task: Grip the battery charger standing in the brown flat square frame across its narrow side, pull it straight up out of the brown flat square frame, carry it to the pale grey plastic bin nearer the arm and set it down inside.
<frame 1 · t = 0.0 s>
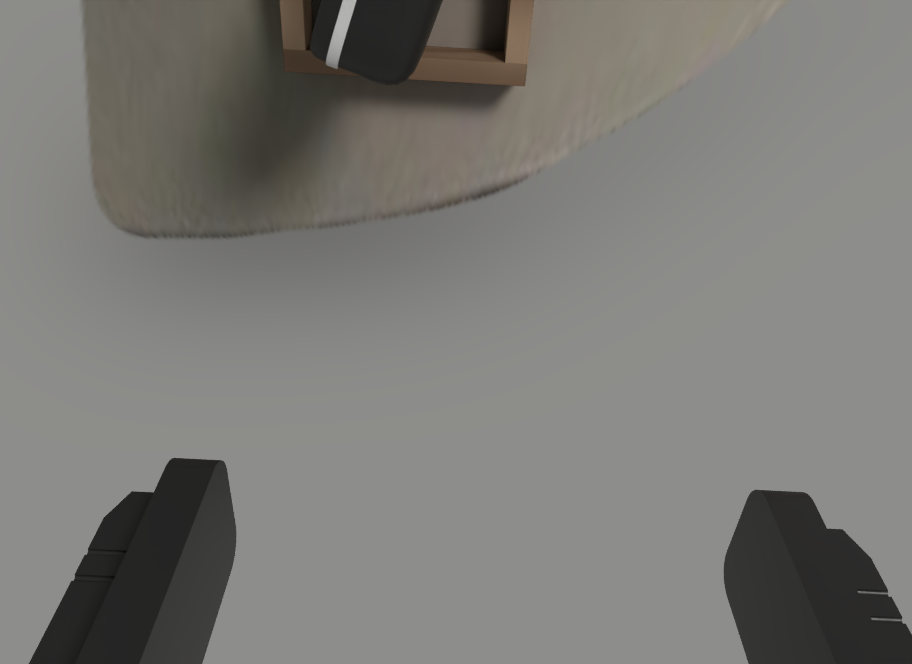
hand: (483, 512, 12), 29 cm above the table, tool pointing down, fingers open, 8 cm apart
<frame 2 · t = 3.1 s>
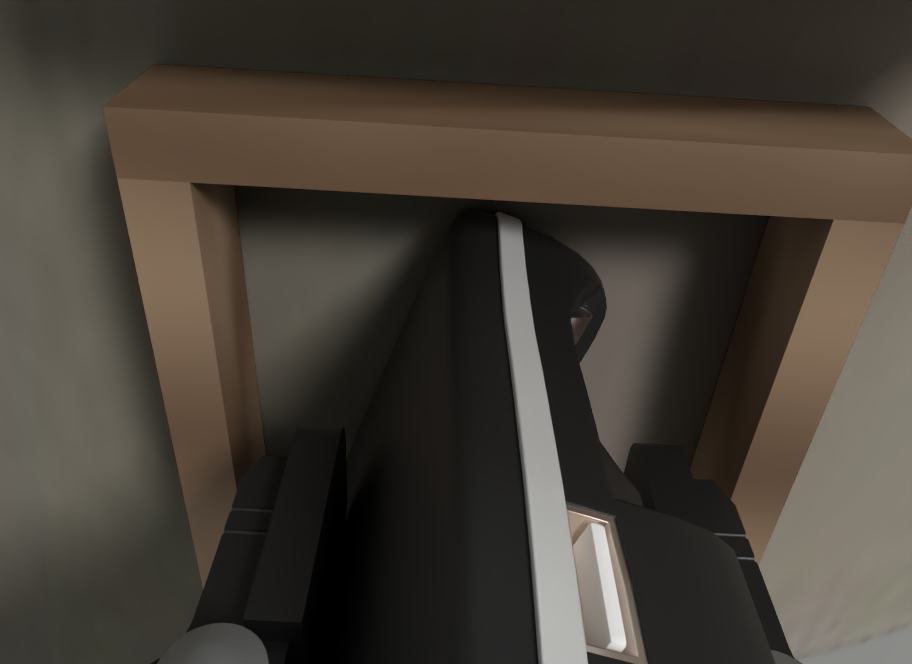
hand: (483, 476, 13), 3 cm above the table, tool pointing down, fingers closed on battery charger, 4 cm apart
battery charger: (486, 363, 15), resting in brown flat square frame, touching gripper
brown flat square frame: (486, 370, 15), on the table
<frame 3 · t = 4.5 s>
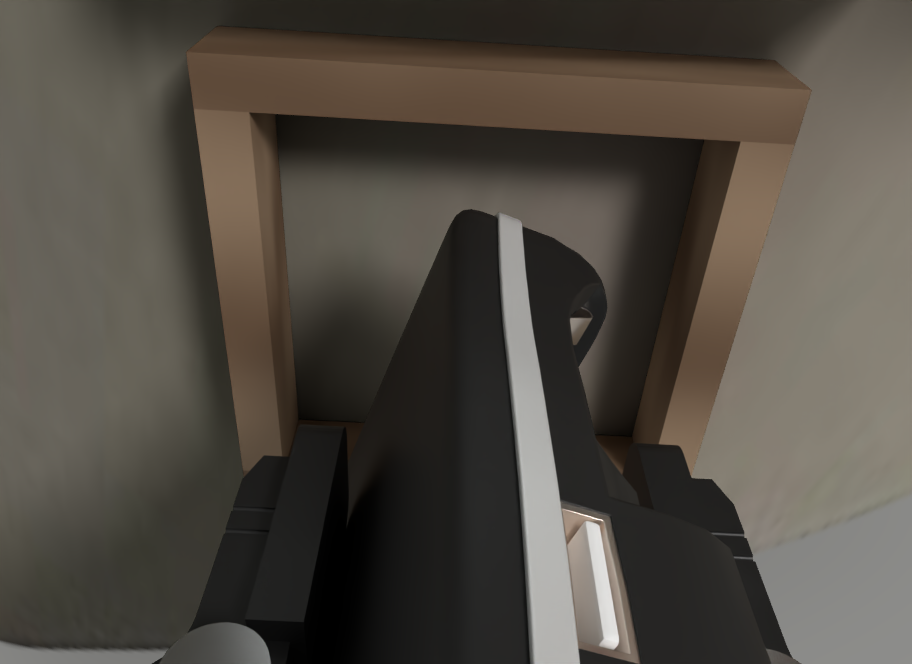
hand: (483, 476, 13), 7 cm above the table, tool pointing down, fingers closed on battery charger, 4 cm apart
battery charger: (488, 364, 15), point 4 cm above the table, touching gripper
brown flat square frame: (477, 284, 18), on the table
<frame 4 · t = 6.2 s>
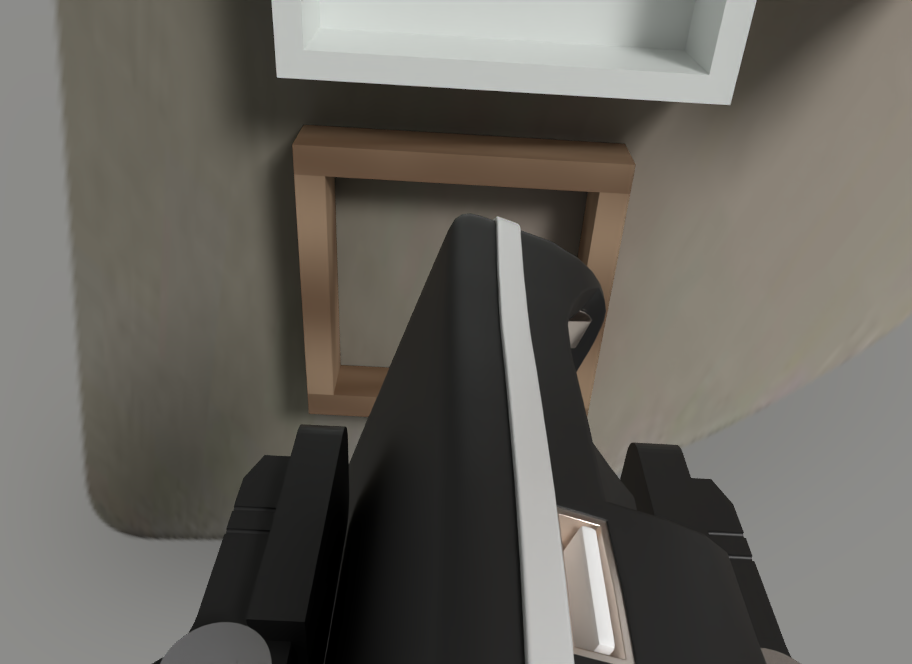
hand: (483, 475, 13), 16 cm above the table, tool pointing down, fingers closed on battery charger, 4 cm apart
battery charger: (487, 367, 15), point 13 cm above the table, touching gripper
brown flat square frame: (455, 275, 29), on the table
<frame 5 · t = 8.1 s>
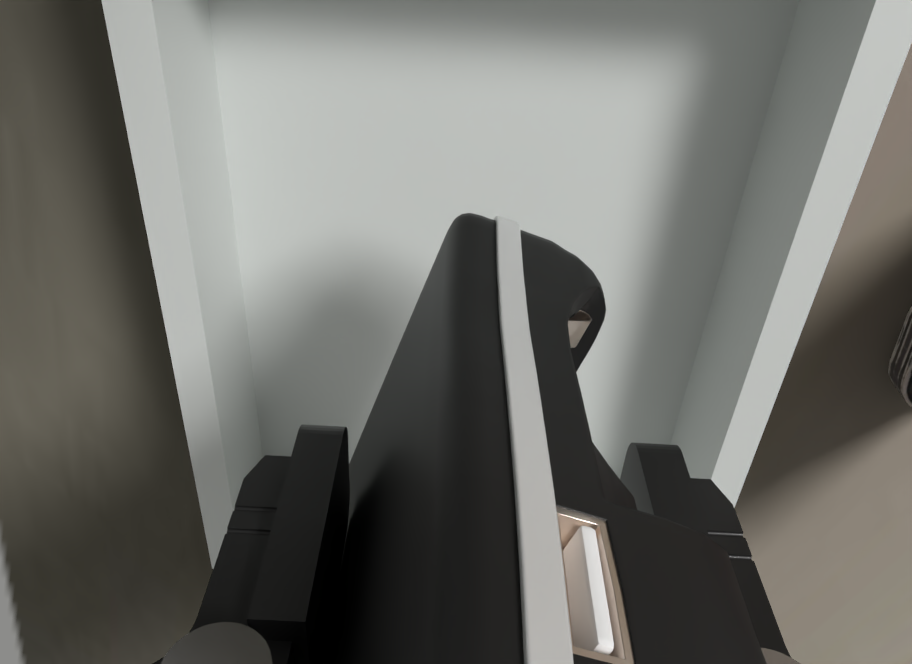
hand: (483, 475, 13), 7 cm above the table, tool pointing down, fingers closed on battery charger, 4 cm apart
bin: (479, 251, 19), on the table
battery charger: (488, 366, 15), point 4 cm above the table, touching gripper
when the fingers open (4 cm above the table, at t = 9.6 s): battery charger stays where it is, resting on bin.
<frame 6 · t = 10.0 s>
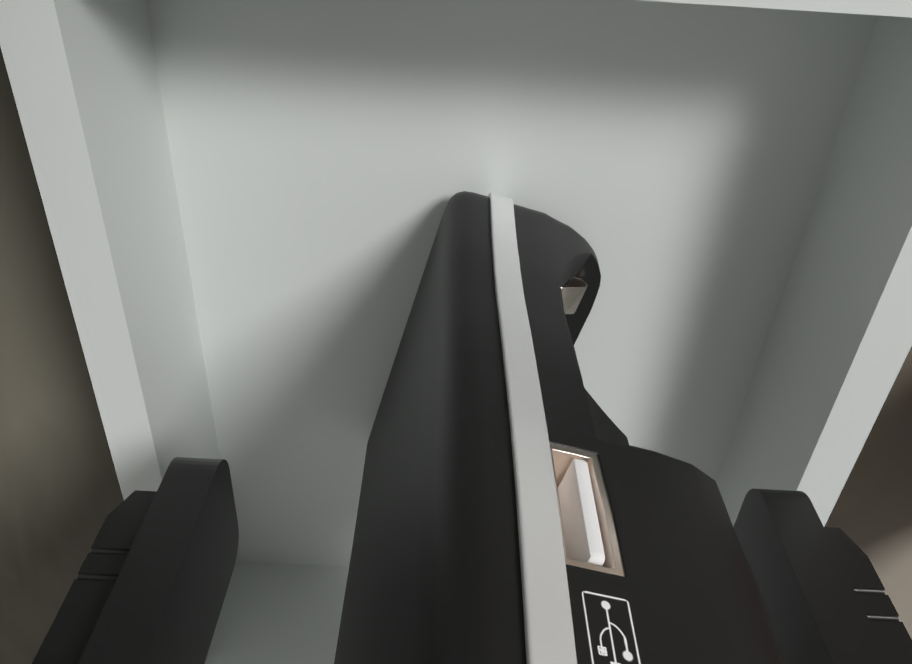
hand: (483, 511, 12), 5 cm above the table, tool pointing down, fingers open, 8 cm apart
bin: (480, 327, 16), on the table
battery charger: (493, 340, 16), resting on bin
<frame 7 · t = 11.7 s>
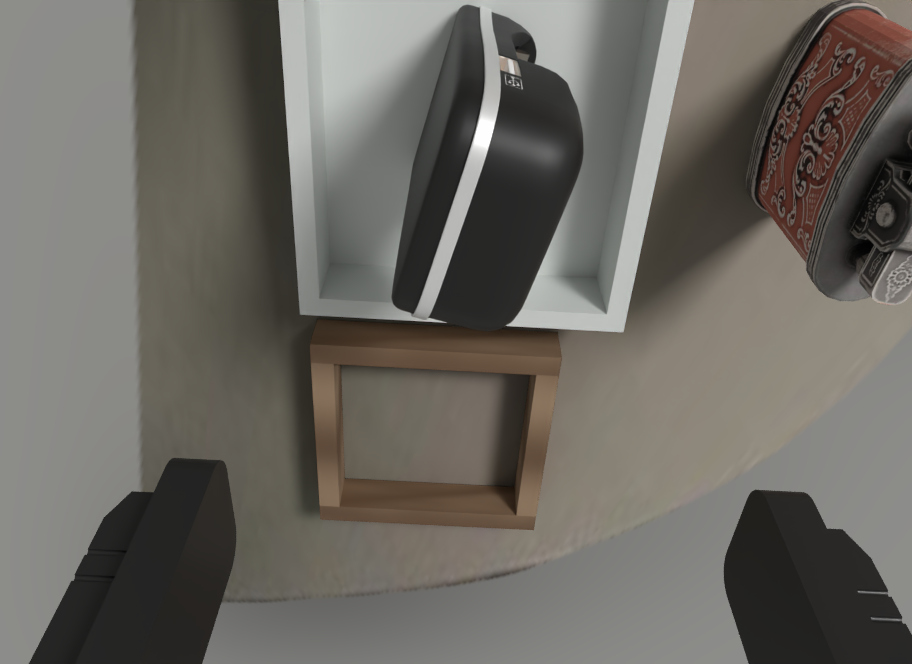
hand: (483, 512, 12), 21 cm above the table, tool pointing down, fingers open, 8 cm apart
bin: (475, 98, 29), on the table
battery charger: (482, 102, 29), resting on bin
lighter: (806, 108, 30), on the table
brown flat square frame: (433, 417, 38), on the table
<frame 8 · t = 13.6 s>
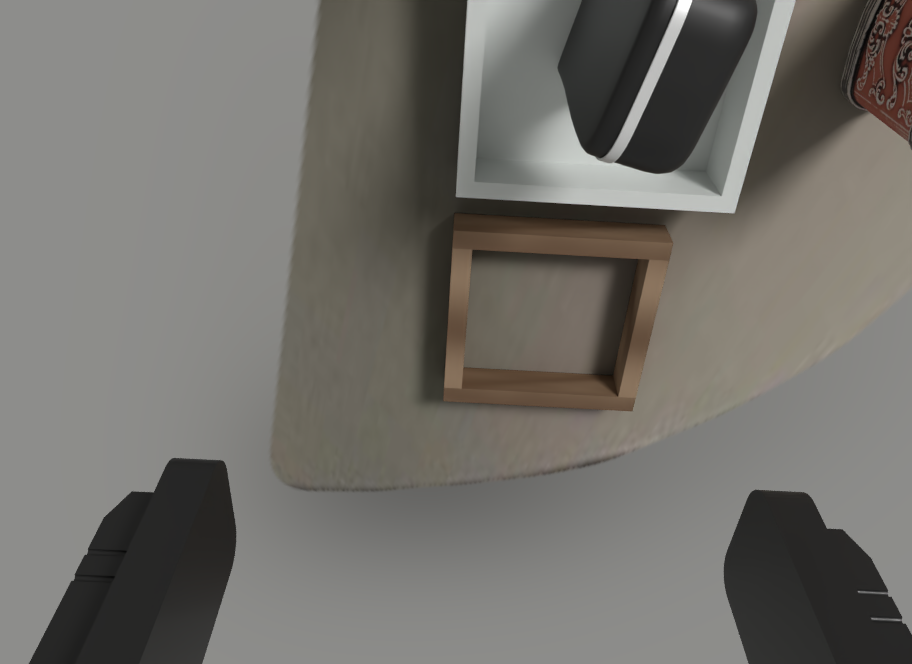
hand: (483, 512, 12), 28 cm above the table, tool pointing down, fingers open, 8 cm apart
bin: (613, 5, 34), on the table
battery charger: (621, 8, 34), resting on bin
lighter: (897, 15, 34), on the table
brown flat square frame: (546, 307, 43), on the table
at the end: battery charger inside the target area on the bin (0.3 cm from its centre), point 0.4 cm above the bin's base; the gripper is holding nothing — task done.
